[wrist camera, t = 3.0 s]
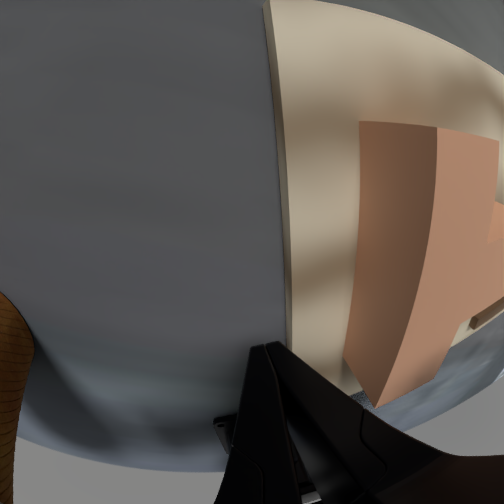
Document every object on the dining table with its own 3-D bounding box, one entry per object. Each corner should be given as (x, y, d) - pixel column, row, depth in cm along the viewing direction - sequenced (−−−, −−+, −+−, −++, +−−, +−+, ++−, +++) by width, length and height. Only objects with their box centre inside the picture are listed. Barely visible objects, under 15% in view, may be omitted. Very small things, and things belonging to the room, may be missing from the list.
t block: (470, 301, 16) (502, 329, 12) (342, 355, 14) (374, 408, 11) (500, 142, 11) (548, 157, 7) (359, 120, 9) (437, 127, 5)
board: (523, 287, 22) (532, 293, 20) (287, 403, 17) (294, 423, 15) (550, 118, 12) (562, 121, 10) (262, 6, 7) (275, -14, 6)
